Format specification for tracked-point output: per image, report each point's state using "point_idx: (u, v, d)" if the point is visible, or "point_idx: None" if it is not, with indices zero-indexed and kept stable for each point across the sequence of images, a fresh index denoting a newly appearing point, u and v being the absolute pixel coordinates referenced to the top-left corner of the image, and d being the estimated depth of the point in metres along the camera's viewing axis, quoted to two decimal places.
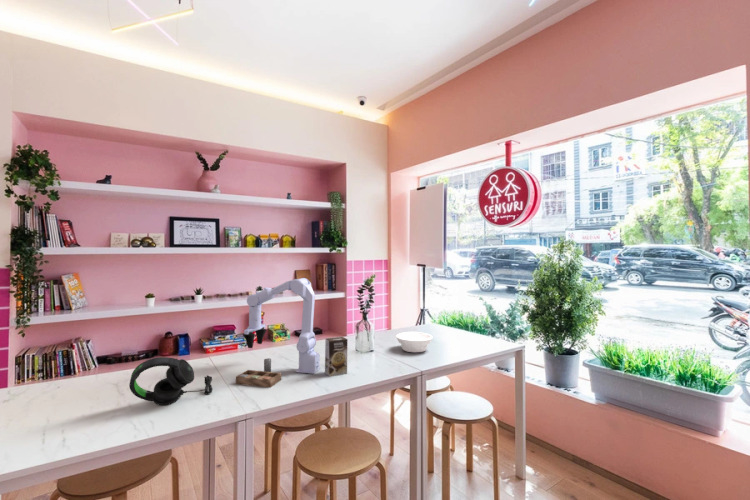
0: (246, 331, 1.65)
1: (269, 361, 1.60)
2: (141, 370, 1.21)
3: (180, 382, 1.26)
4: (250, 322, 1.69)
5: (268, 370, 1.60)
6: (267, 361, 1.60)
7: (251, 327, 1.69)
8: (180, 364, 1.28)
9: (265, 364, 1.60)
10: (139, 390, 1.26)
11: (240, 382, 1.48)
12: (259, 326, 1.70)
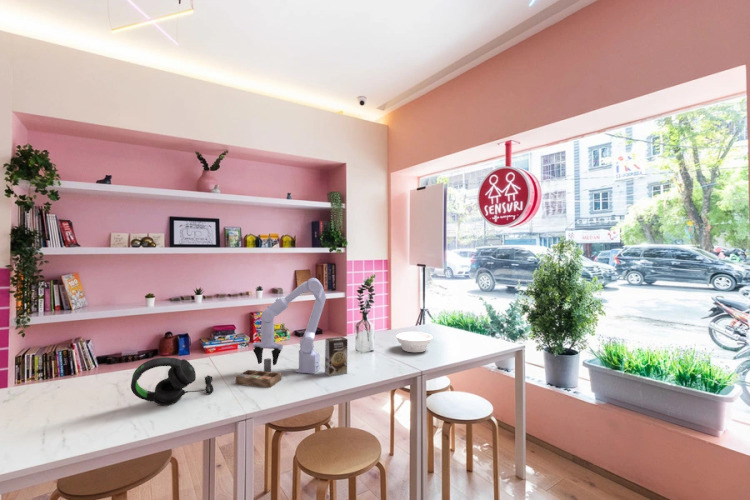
0: None
1: (269, 361, 1.60)
2: (143, 370, 1.21)
3: (182, 382, 1.27)
4: None
5: (268, 370, 1.60)
6: (267, 361, 1.60)
7: None
8: (182, 364, 1.28)
9: (265, 364, 1.60)
10: (140, 390, 1.25)
11: (240, 382, 1.48)
12: (263, 344, 1.59)
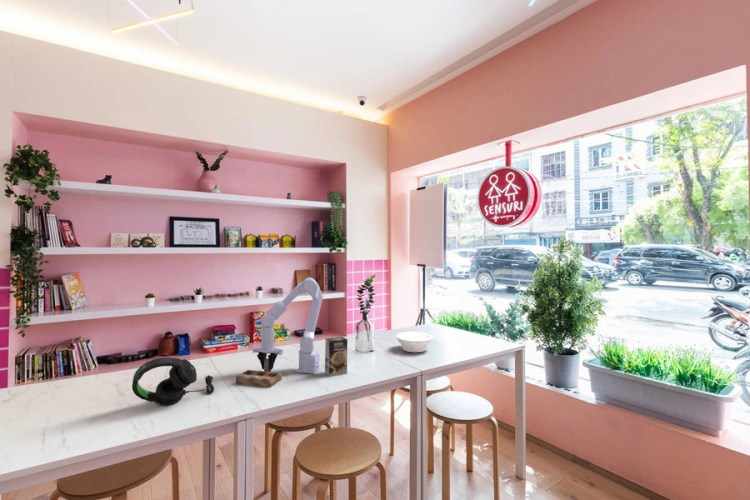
0: None
1: None
2: (145, 371, 1.20)
3: (184, 382, 1.27)
4: None
5: (268, 370, 1.60)
6: (267, 361, 1.60)
7: None
8: (183, 364, 1.28)
9: (265, 364, 1.60)
10: (141, 390, 1.25)
11: (240, 382, 1.48)
12: (263, 349, 1.59)
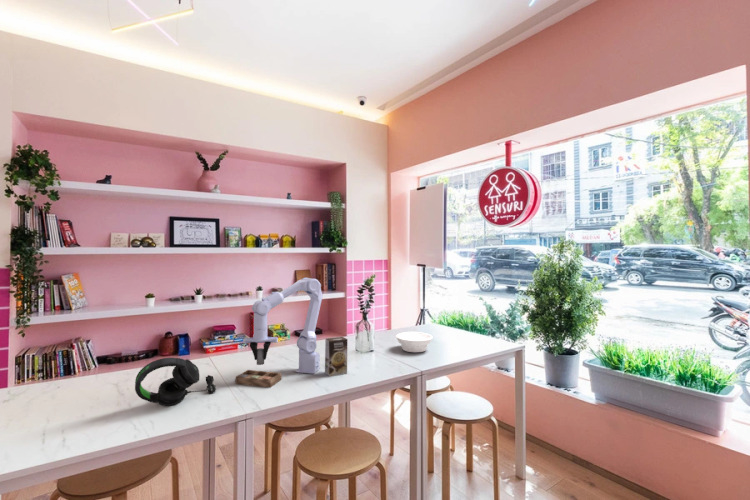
0: None
1: (263, 350, 1.52)
2: (148, 371, 1.20)
3: (187, 382, 1.27)
4: None
5: (262, 360, 1.51)
6: (261, 351, 1.51)
7: (253, 337, 1.52)
8: (187, 364, 1.28)
9: (259, 354, 1.51)
10: (144, 391, 1.24)
11: (240, 382, 1.48)
12: (258, 338, 1.49)
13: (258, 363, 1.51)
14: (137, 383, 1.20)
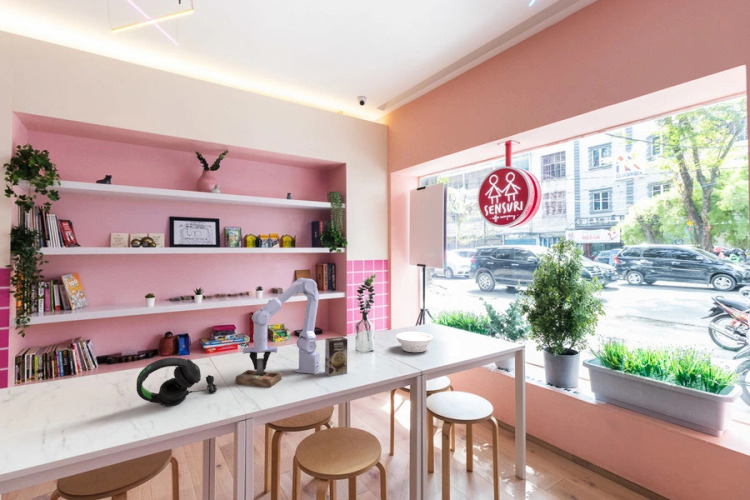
0: None
1: (263, 360, 1.51)
2: (150, 371, 1.20)
3: (189, 382, 1.27)
4: None
5: (262, 370, 1.51)
6: (261, 361, 1.51)
7: (253, 347, 1.52)
8: (188, 364, 1.28)
9: (259, 364, 1.50)
10: (145, 392, 1.24)
11: (240, 382, 1.48)
12: (258, 348, 1.49)
13: (258, 373, 1.50)
14: (139, 383, 1.20)
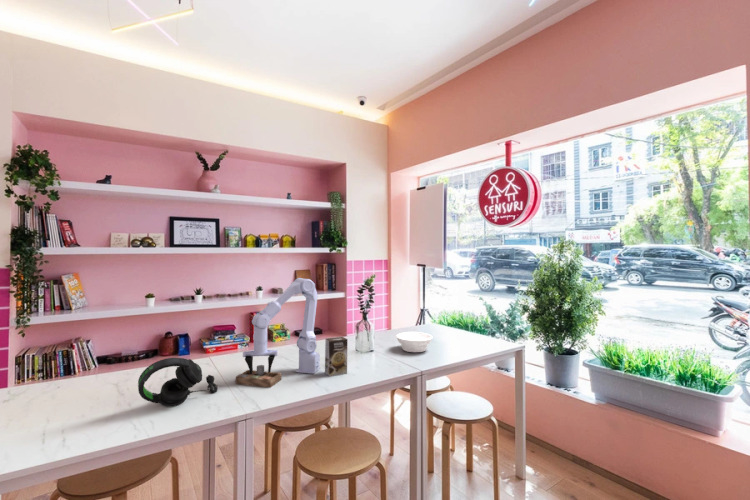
0: None
1: (263, 367, 1.51)
2: (152, 371, 1.20)
3: (191, 381, 1.27)
4: None
5: None
6: (261, 368, 1.51)
7: None
8: (190, 364, 1.28)
9: (259, 371, 1.50)
10: (146, 392, 1.24)
11: (240, 382, 1.48)
12: (258, 352, 1.49)
13: None
14: (141, 384, 1.19)
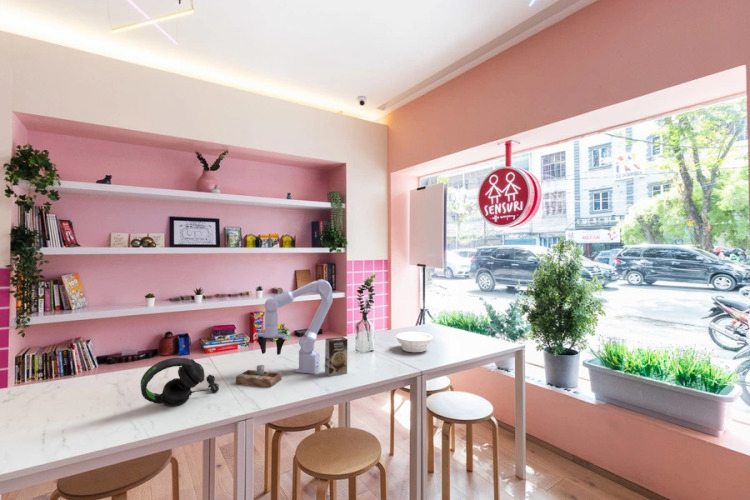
0: None
1: (263, 367, 1.51)
2: (156, 372, 1.19)
3: (194, 381, 1.27)
4: None
5: None
6: (261, 368, 1.51)
7: None
8: (193, 364, 1.29)
9: (259, 371, 1.50)
10: (149, 393, 1.23)
11: (240, 382, 1.48)
12: (267, 333, 1.58)
13: None
14: (144, 384, 1.19)
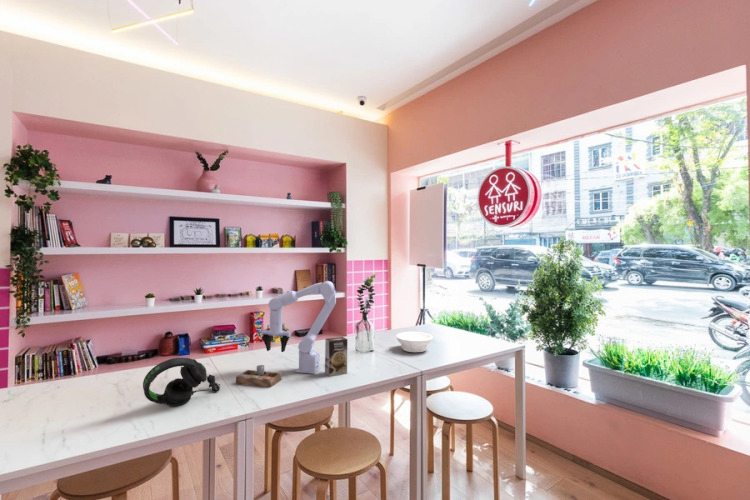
0: None
1: (263, 368, 1.51)
2: (159, 372, 1.19)
3: (196, 381, 1.28)
4: None
5: None
6: (261, 368, 1.51)
7: None
8: (195, 363, 1.29)
9: (259, 371, 1.50)
10: (151, 393, 1.23)
11: (240, 382, 1.48)
12: (272, 331, 1.62)
13: None
14: (147, 384, 1.19)
